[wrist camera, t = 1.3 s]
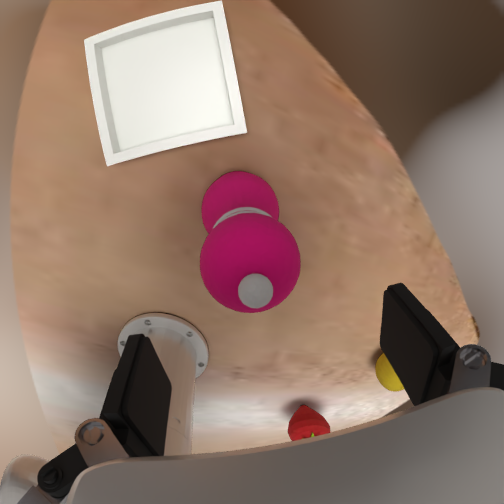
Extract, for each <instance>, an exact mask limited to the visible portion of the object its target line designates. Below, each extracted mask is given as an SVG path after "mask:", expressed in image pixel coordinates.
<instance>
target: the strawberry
mask: <svg viewBox="0 0 504 504" xmlns="http://www.w3.org/2000/svg"><path fill="white" fill-rule="evenodd" d="M327 433H330V426H329V424H328V423H327V421H326V420H325V418H324V417H323V416H322V415H320V414H319V413H317V412H316V411H315V410H313V409H311V408H309V407H308V406H306V405H301V406H300V407H299V409H298V410H297V411H296V412H295V413H294V415H293V416H292V418H291V420H290V421H289V426H288V434H289V436H290V439H291V440H292V441H296V440H301V439H306V438H310V437H314V436H319V435H323V434H327Z"/></svg>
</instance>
